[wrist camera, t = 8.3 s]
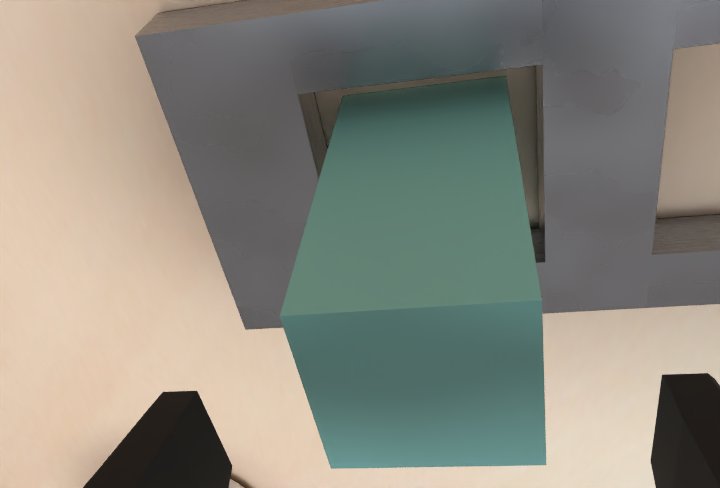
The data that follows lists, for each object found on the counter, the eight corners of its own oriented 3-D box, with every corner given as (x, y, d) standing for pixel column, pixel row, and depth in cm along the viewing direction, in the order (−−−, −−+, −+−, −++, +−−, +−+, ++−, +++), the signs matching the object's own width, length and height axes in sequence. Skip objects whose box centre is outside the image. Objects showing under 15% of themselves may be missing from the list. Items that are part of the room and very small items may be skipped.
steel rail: (1168, -139, 12) (1244, -124, 11) (986, 249, 18) (1024, 287, 16) (157, 13, 16) (134, 36, 15) (256, 295, 21) (245, 329, 20)
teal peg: (505, 76, 16) (541, 300, 10) (512, 212, 19) (546, 465, 12) (342, 95, 17) (279, 316, 11) (369, 225, 19) (330, 468, 13)
